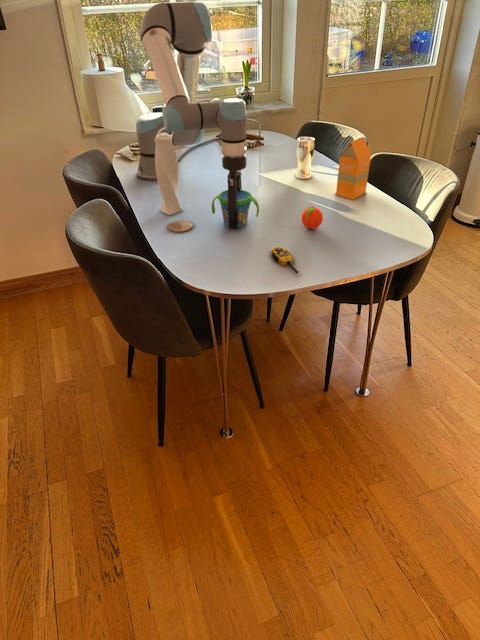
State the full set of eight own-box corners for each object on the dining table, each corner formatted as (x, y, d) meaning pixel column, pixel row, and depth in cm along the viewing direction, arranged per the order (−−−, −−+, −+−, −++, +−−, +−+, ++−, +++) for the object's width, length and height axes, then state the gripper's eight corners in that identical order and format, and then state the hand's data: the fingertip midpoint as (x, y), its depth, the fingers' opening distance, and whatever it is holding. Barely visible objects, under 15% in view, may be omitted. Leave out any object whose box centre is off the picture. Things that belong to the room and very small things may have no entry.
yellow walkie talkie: (283, 244, 142) (305, 267, 130) (283, 250, 143) (305, 273, 131) (268, 247, 141) (289, 270, 129) (268, 253, 142) (289, 276, 130)
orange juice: (365, 193, 180) (373, 138, 168) (353, 199, 174) (360, 144, 163) (348, 188, 184) (354, 134, 172) (335, 194, 179) (341, 139, 167)
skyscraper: (174, 204, 173) (166, 124, 156) (187, 210, 168) (180, 128, 152) (156, 211, 168) (146, 129, 152) (169, 217, 164) (160, 133, 147)
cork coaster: (171, 221, 161) (171, 220, 161) (194, 222, 160) (194, 221, 160) (165, 231, 154) (165, 230, 154) (189, 232, 154) (189, 231, 153)
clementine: (315, 235, 151) (317, 214, 147) (295, 230, 154) (296, 209, 150) (325, 226, 156) (327, 205, 152) (306, 221, 159) (307, 201, 155)
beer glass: (292, 178, 194) (295, 140, 185) (297, 172, 199) (299, 135, 190) (309, 180, 192) (312, 142, 183) (313, 174, 197) (316, 137, 188)
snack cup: (262, 220, 161) (262, 191, 155) (253, 233, 153) (253, 203, 147) (218, 215, 165) (217, 186, 159) (208, 227, 156) (206, 198, 150)
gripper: (242, 166, 136) (242, 237, 149) (250, 144, 153) (250, 209, 167) (216, 165, 137) (219, 236, 150) (227, 144, 154) (229, 209, 167)
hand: (235, 222), depth 158 cm, fingers closed on snack cup, 9 cm apart
